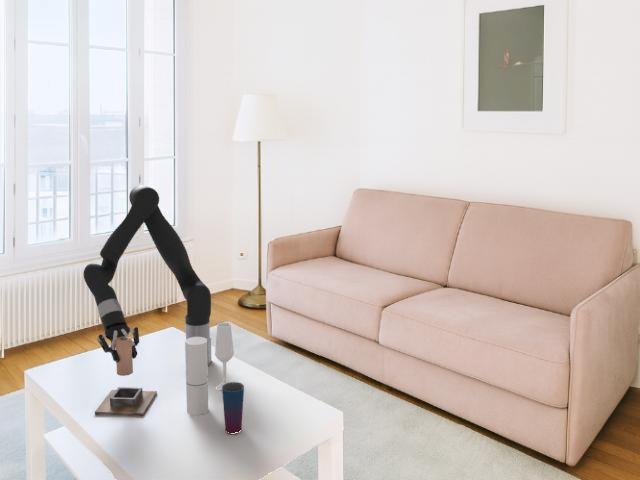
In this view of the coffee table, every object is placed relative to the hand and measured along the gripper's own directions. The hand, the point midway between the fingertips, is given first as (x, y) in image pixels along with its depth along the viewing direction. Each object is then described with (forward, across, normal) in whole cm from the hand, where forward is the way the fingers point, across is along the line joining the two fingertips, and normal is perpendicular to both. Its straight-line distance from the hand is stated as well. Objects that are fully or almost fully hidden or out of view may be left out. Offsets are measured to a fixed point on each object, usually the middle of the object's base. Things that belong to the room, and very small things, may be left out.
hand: (126, 359), depth 211 cm
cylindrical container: (+24, +17, 0) cm, 29 cm away
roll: (+3, 0, +5) cm, 6 cm away
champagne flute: (+17, +34, +7) cm, 38 cm away
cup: (+37, +20, -13) cm, 44 cm away
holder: (+11, 0, +13) cm, 17 cm away
